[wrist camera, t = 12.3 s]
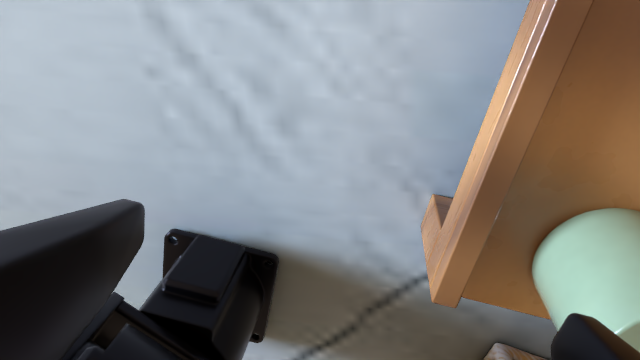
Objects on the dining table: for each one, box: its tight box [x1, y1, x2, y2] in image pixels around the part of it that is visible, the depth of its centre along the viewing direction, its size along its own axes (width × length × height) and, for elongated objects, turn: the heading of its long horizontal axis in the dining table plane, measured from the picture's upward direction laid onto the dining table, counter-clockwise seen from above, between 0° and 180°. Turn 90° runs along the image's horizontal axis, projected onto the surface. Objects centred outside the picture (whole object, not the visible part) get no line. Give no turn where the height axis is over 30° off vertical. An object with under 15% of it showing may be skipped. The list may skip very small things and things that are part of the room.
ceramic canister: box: [532, 208, 640, 352], centre depth 13 cm, size 5×5×5 cm
